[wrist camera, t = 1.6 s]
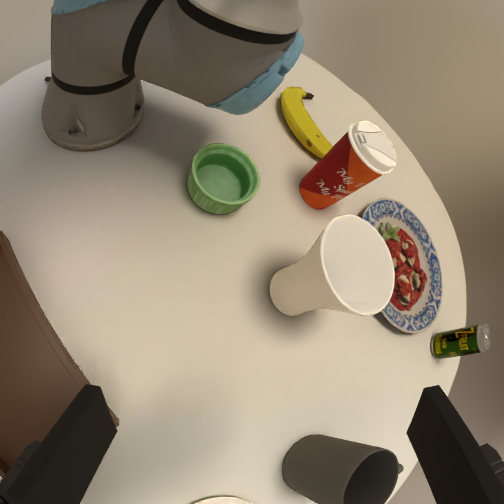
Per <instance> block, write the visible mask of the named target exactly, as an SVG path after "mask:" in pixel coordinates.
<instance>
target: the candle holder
mask: <svg viewBox="0 0 504 504" xmlns="http://www.w3.org/2000/svg"><path fill="white" fill-rule="evenodd" d="M195 504H251V503H249V502H247V501H245V500H243V499H239V498H235V497H215V498H209V499H206V500H202V501H200V502H197V503H195Z"/></svg>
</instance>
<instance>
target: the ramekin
mask: <svg viewBox="0 0 504 504" xmlns="http://www.w3.org/2000/svg"><path fill="white" fill-rule="evenodd" d="M259 184H260V177H259V172H258V169H257V167H256V165H255V163H254V162H253V161H252V159H251V158H250V157H249V156H248V155H247V154H246V153H245V152H243V151H242V150H240V149H239V148H237V147H234V146H232V145H229V144H223V143H213V144H209V145H206V146H204V147H202V148H201V149H200V150H199V151H198V152H197V153H196V154H195V156H194V158H193V160H192V164H191V170H190V173H189V176H188V191H189V194H190V196H191V198H192V199H193V201H194V202H195V203H196V204H197V205H198V206H199V207H201V208H202V209H204V210H206V211H208V212H210V213H213V214H227V213H230V212H233V211H234V210H236V209H237V208H238V207H240V206H241V205H242V204H243V203H246V202H247V201H249V200H250V199H251V198H253V197H254V195H255V194H256V192H257V191H258V188H259Z"/></svg>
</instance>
